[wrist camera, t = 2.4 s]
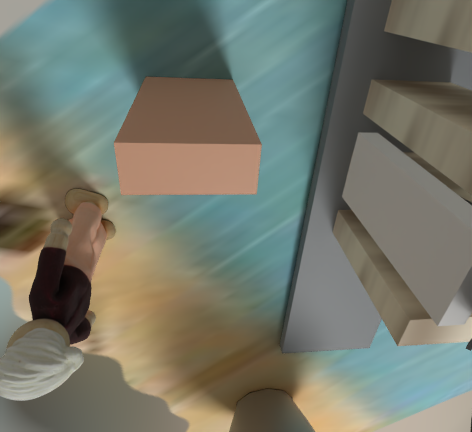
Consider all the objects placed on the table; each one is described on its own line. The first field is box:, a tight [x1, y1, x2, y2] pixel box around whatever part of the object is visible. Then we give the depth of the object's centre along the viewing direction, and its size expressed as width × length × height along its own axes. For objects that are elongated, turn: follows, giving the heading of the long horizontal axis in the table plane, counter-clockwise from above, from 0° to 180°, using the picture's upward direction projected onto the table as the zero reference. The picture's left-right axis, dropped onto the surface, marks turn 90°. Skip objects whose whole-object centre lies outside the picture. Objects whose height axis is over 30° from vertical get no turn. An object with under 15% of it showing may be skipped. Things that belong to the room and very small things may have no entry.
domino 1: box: [114, 77, 262, 195], centre depth 17 cm, size 5×2×10 cm, turn 86°
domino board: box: [280, 0, 472, 353], centre depth 26 cm, size 9×32×1 cm, turn 176°
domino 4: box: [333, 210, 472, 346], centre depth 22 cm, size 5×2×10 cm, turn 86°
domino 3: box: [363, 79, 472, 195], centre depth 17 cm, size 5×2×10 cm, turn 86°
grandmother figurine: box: [0, 189, 116, 400], centre depth 20 cm, size 8×4×13 cm, turn 10°
